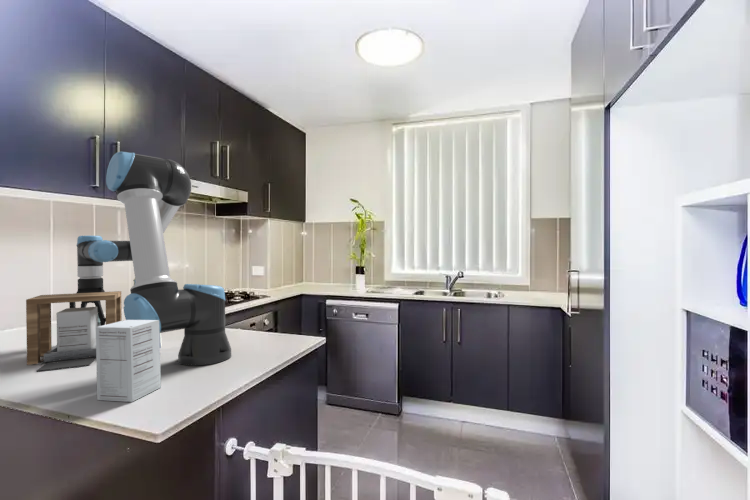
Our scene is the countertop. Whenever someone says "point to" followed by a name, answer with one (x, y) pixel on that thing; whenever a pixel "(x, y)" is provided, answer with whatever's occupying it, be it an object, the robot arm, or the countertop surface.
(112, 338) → the supplement box
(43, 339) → the bridge
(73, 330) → the supplement box
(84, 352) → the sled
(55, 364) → the dark grey flat block
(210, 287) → the robot arm
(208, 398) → the countertop surface
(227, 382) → the countertop surface
